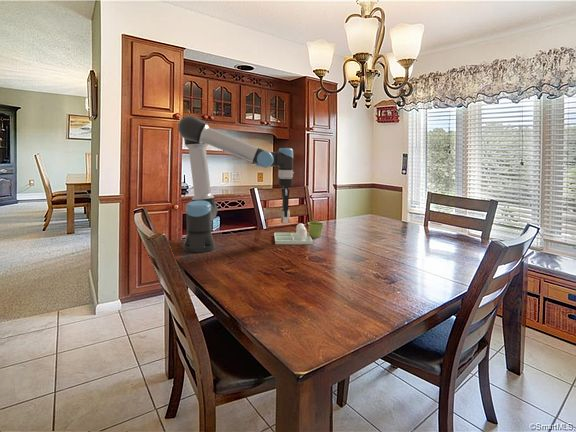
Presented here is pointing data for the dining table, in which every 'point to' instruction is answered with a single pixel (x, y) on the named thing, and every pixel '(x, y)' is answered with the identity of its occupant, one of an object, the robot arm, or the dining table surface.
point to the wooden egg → (282, 216)
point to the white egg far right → (302, 234)
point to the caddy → (290, 239)
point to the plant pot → (315, 229)
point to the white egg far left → (298, 228)
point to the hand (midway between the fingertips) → (285, 221)
